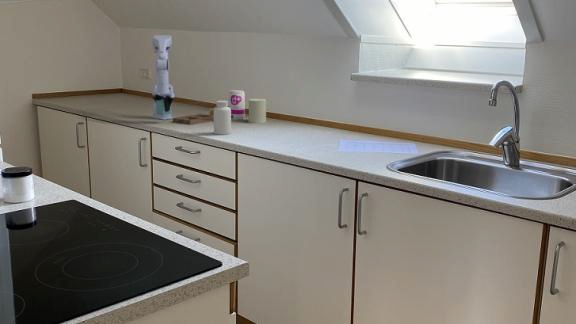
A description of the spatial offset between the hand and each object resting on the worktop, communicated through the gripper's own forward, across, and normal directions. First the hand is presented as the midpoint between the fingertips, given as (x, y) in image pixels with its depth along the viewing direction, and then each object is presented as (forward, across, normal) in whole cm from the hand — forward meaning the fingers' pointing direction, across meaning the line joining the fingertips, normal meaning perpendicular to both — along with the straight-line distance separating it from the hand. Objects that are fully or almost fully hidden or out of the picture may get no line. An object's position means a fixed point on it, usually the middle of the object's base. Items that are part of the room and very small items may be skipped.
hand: (163, 110), depth 308 cm
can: (+6, +33, +34) cm, 48 cm away
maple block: (+4, +8, +27) cm, 29 cm away
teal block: (+2, 0, 0) cm, 2 cm away
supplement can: (+6, +19, +34) cm, 39 cm away
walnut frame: (+6, +8, +15) cm, 18 cm away
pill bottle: (+6, +43, -3) cm, 43 cm away
